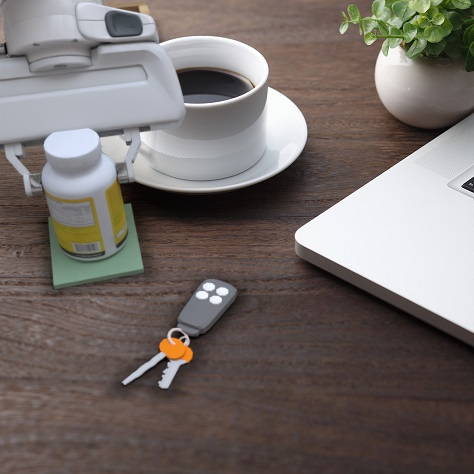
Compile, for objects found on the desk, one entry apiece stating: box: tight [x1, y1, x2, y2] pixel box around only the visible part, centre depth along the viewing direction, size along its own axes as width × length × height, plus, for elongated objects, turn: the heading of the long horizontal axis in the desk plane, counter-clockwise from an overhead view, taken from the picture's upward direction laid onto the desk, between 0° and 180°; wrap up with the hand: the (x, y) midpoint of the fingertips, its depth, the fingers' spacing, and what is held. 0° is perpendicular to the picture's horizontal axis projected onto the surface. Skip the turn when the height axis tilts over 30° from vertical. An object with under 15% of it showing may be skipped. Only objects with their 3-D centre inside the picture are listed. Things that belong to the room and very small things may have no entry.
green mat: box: [47, 202, 145, 290], centre depth 79 cm, size 10×8×1 cm
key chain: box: [121, 278, 238, 390], centre depth 70 cm, size 13×4×2 cm, turn 157°
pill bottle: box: [41, 128, 128, 261], centre depth 75 cm, size 6×6×12 cm
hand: (82, 188), depth 74 cm, fingers closed on pill bottle, 6 cm apart
